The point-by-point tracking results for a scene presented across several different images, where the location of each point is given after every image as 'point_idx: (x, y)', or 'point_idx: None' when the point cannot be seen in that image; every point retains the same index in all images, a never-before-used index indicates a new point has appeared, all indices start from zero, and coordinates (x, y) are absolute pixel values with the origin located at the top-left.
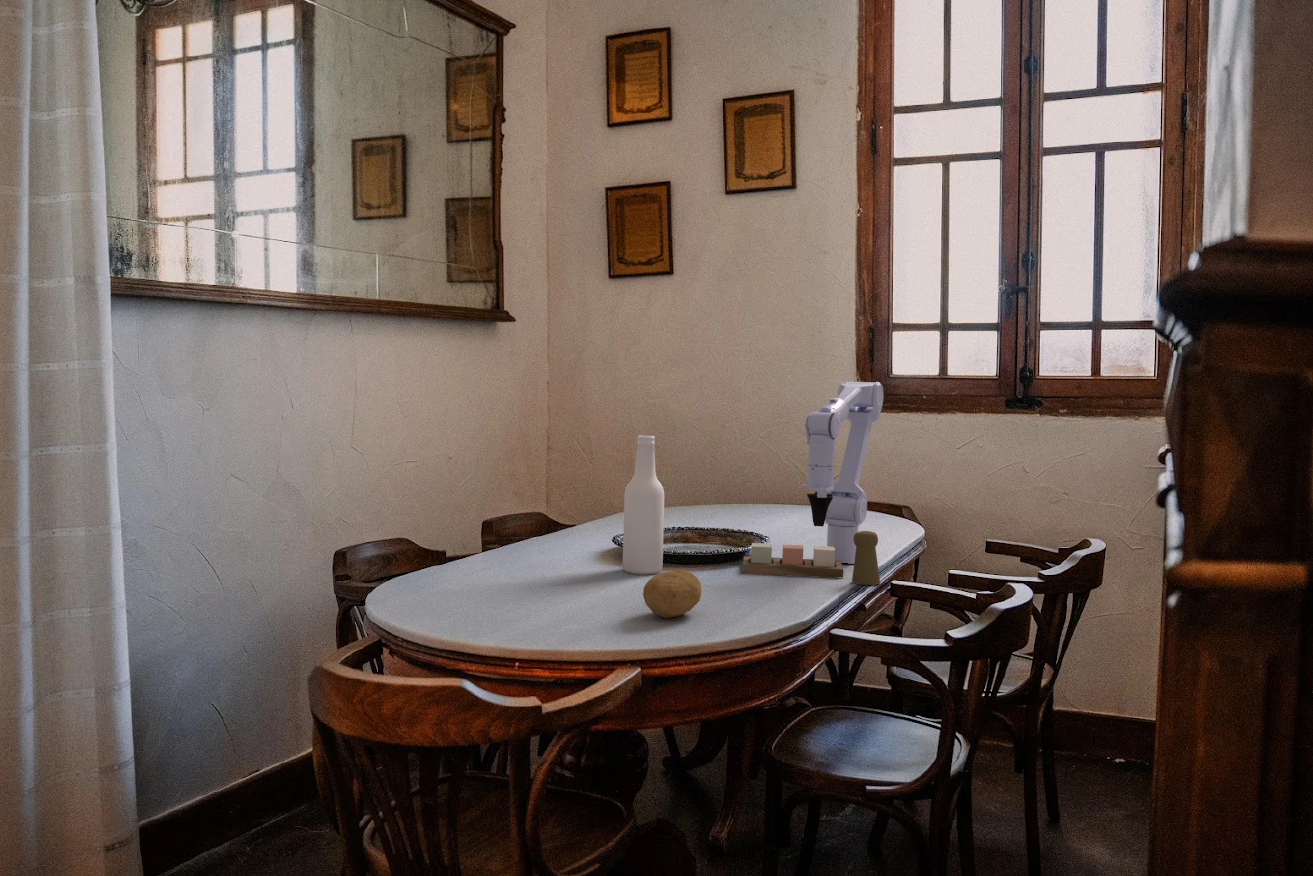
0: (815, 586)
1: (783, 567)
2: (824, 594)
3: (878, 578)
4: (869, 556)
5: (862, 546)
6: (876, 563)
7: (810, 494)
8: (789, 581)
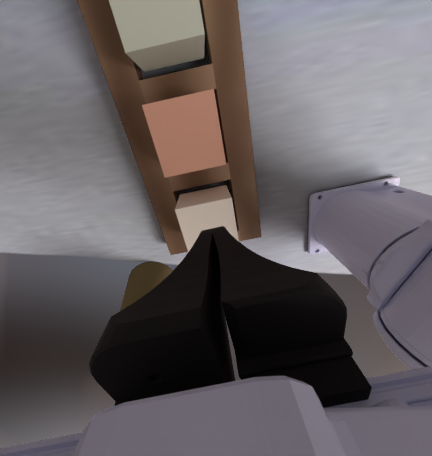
0: (65, 212)
1: (122, 121)
2: (9, 238)
3: None
4: None
5: None
6: None
7: (173, 356)
8: (73, 151)
